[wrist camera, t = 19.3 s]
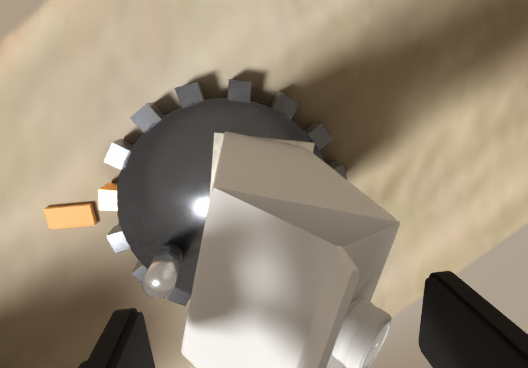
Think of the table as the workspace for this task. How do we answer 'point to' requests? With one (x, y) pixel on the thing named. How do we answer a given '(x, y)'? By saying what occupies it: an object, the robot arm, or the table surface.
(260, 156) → the milk carton
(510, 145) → the table surface
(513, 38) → the table surface
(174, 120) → the sprocket
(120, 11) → the table surface
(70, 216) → the block
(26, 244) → the table surface
